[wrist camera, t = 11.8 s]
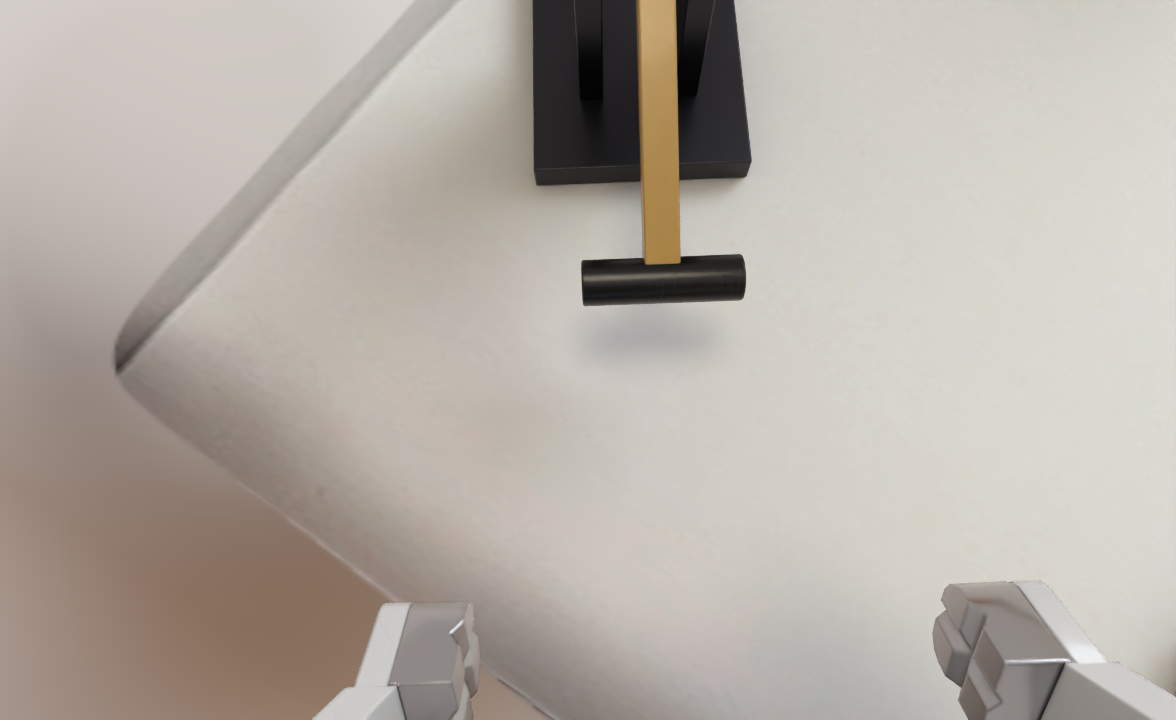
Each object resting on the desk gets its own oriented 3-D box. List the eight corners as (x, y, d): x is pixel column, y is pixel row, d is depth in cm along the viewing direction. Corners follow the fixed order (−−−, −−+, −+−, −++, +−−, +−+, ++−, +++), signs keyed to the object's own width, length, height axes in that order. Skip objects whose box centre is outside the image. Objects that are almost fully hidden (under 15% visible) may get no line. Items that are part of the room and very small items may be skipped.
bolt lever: (734, 298, 23) (750, 302, 20) (584, 303, 23) (582, 308, 21) (730, -244, 20) (748, -310, 18) (562, -235, 21) (558, -300, 18)
